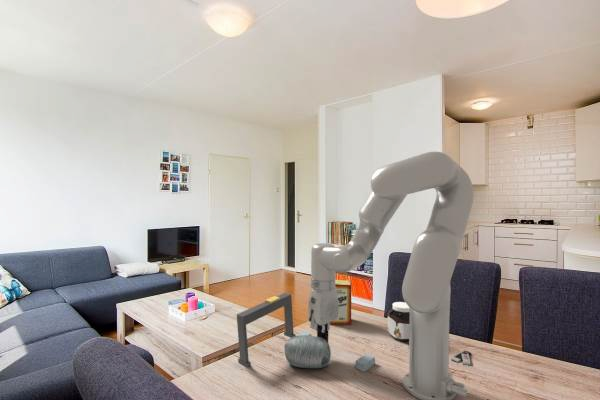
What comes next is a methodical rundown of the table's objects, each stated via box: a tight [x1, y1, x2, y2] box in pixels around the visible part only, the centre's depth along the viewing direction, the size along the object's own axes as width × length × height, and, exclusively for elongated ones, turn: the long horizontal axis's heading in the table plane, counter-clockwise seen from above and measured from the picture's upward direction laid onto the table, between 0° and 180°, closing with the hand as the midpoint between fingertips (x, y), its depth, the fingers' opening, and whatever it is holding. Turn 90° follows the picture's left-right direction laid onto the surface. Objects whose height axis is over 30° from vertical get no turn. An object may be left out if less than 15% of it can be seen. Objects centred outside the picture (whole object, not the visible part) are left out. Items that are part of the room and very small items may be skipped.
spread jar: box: [387, 301, 410, 343], centre depth 111 cm, size 12×11×12 cm
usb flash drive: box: [450, 350, 472, 367], centre depth 96 cm, size 9×5×1 cm, turn 127°
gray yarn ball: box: [283, 335, 332, 369], centre depth 92 cm, size 14×10×10 cm
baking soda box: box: [330, 279, 352, 326], centre depth 126 cm, size 10×6×16 cm
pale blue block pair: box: [296, 331, 376, 372], centre depth 100 cm, size 27×6×2 cm, turn 49°
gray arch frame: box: [236, 292, 297, 368], centre depth 100 cm, size 21×4×15 cm, turn 139°
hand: (322, 343), depth 97 cm, fingers closed
